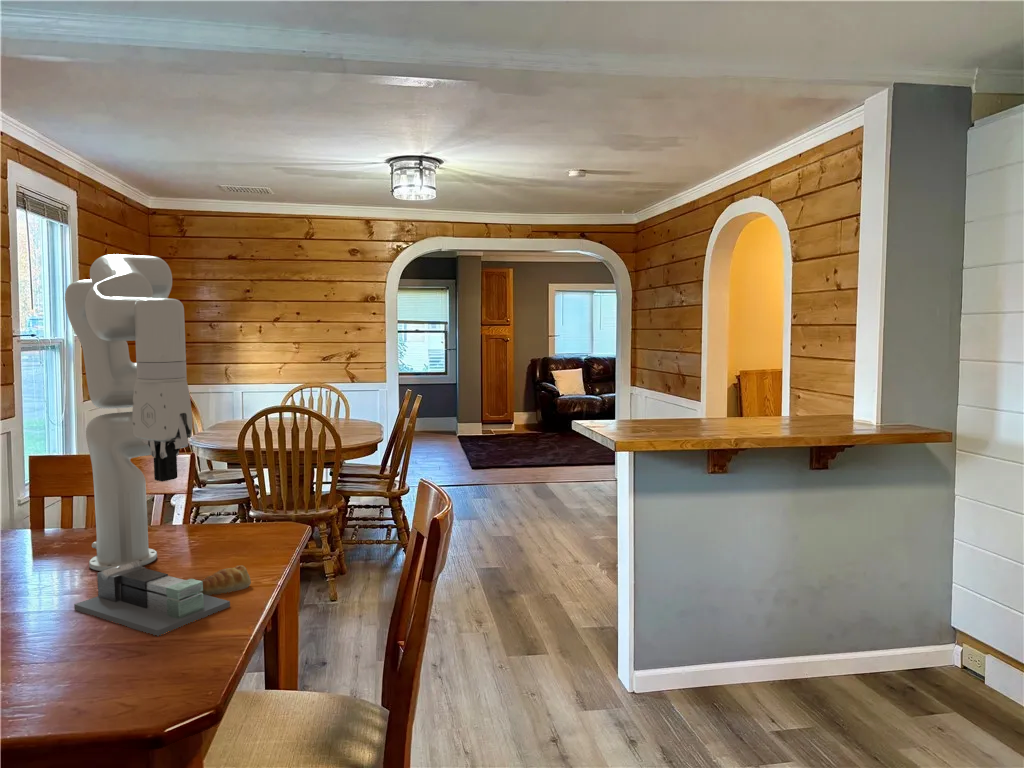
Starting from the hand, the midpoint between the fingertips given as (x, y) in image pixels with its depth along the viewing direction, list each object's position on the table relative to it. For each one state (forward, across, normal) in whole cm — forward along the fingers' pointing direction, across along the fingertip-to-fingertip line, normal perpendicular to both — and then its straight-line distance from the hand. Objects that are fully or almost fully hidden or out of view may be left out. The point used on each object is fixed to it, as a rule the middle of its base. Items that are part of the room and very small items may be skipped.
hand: (166, 479), depth 123 cm
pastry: (+24, -2, +13) cm, 27 cm away
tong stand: (+23, -5, 0) cm, 23 cm away
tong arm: (+19, -2, 0) cm, 19 cm away
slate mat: (+24, -5, 0) cm, 24 cm away
